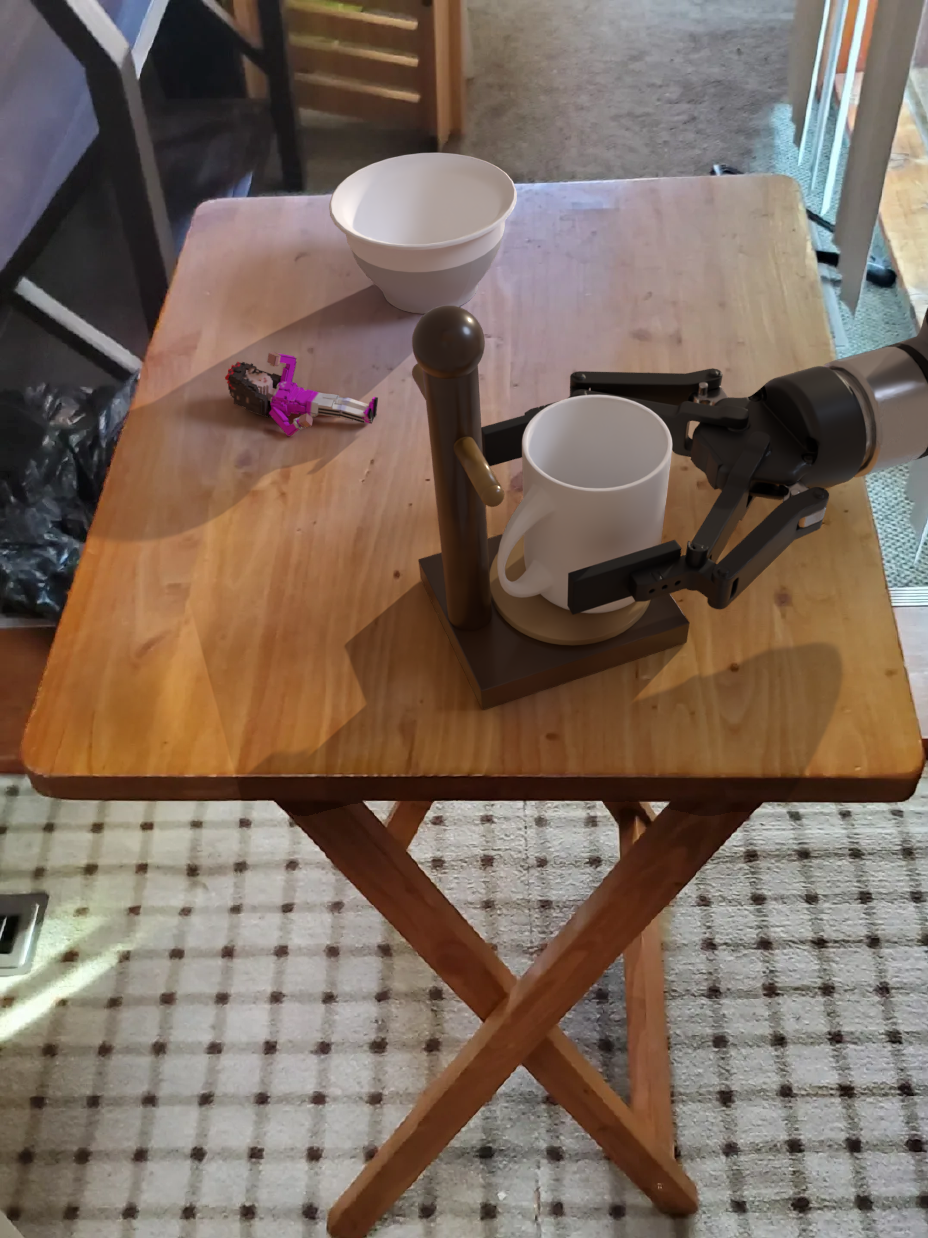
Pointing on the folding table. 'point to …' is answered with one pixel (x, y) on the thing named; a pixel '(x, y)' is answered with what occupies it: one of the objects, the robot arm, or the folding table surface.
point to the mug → (586, 492)
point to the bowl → (425, 225)
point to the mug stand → (467, 566)
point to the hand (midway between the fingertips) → (523, 516)
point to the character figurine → (290, 396)
